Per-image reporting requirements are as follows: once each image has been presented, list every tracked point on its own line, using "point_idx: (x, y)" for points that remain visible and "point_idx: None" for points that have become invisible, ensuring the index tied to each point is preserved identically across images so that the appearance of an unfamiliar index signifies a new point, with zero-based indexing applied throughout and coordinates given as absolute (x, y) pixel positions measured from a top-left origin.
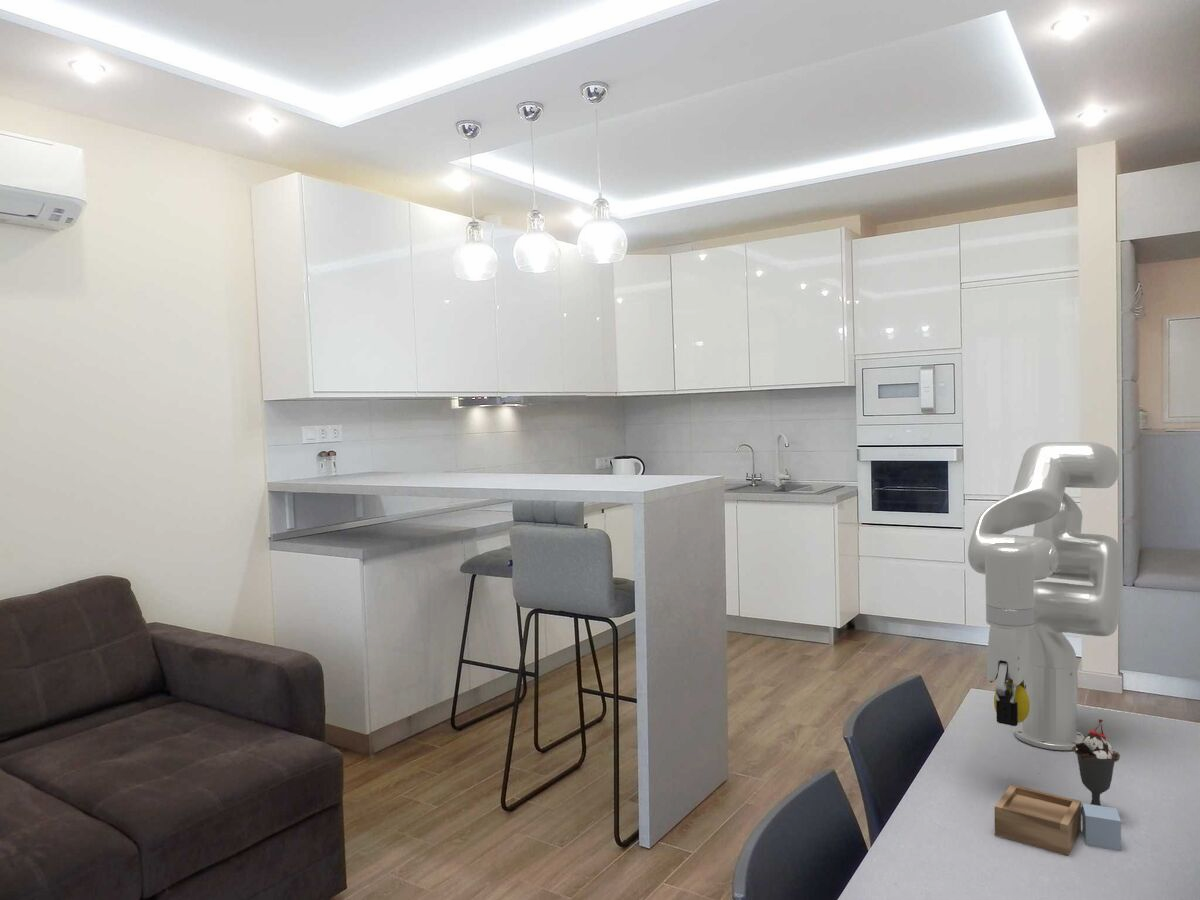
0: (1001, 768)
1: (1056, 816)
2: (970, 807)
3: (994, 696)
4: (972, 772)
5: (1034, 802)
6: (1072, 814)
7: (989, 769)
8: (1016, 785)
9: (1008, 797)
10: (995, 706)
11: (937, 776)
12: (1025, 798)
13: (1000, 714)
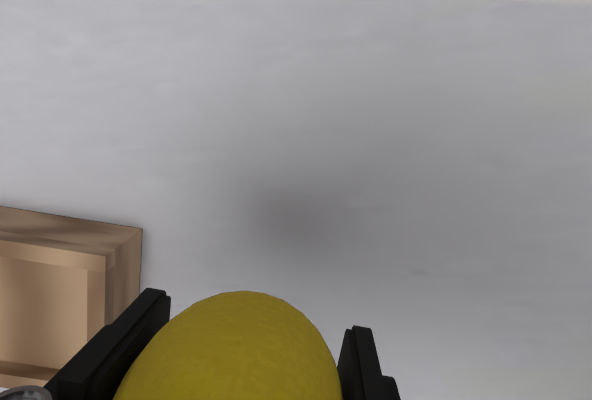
0: (414, 187)
1: (22, 346)
2: (107, 139)
3: (206, 346)
4: (348, 117)
5: (72, 302)
6: (9, 386)
7: (392, 158)
8: (104, 269)
9: (7, 255)
10: (185, 315)
11: (268, 23)
12: (82, 283)
13: (93, 337)
